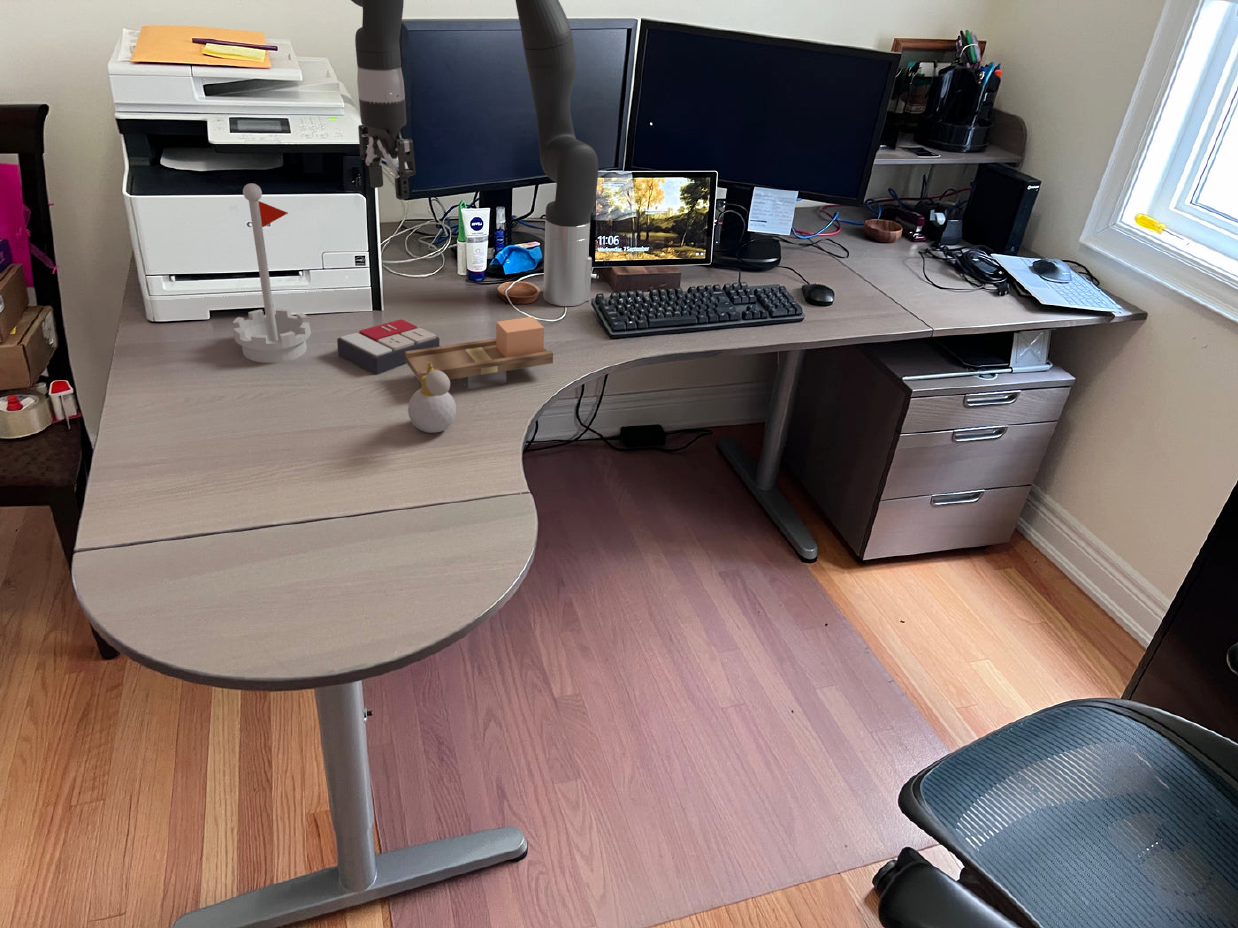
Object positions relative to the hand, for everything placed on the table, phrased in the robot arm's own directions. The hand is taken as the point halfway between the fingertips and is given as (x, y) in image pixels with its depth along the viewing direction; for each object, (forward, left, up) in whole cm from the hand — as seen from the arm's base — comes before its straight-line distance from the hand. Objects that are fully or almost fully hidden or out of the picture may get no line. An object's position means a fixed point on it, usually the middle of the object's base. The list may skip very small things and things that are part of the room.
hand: (389, 192), depth 160 cm
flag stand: (+23, 0, -27) cm, 36 cm away
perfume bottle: (+5, +38, -27) cm, 47 cm away
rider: (-16, +23, -23) cm, 36 cm away
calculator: (+4, +8, -28) cm, 29 cm away
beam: (-8, +23, -27) cm, 36 cm away
